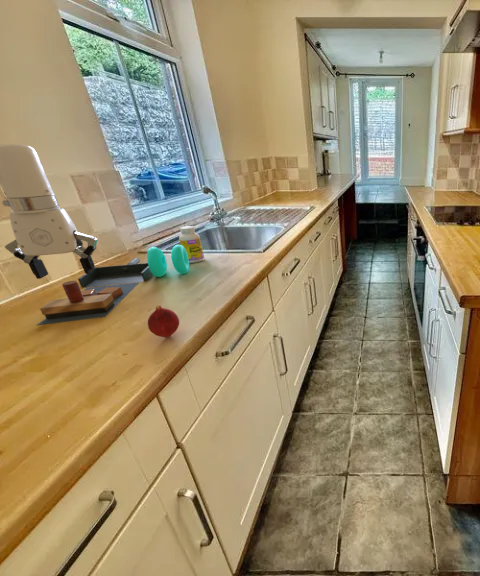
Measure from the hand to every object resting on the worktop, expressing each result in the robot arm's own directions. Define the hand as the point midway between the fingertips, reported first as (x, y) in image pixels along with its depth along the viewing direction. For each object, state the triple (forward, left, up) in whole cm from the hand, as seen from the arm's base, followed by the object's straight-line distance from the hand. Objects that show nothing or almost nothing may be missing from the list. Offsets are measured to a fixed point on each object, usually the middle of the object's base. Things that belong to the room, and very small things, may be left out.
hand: (67, 274), depth 79 cm
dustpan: (0, +29, -11) cm, 31 cm away
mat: (0, +7, -11) cm, 13 cm away
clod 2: (+3, +9, -11) cm, 14 cm away
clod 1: (-3, +9, -11) cm, 14 cm away
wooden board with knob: (0, 0, -11) cm, 11 cm away
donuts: (+15, +24, -11) cm, 30 cm away
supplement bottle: (+19, +38, -11) cm, 44 cm away
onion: (+25, -20, -11) cm, 34 cm away
